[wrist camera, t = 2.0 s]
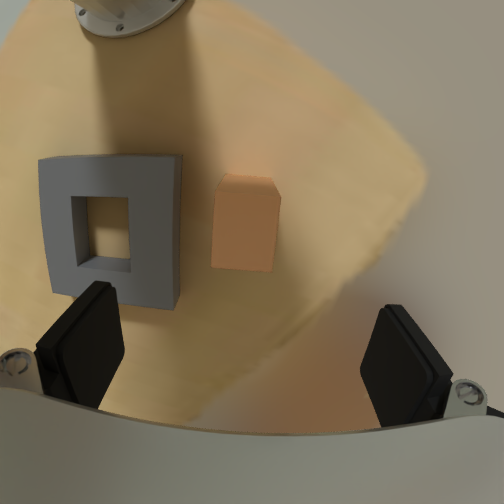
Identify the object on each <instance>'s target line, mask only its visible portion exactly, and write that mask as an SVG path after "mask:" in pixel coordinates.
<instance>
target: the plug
mask: <svg viewBox="0 0 504 504" xmlns="http://www.w3.org/2000/svg"><path fill="white" fill-rule="evenodd" d="M280 203H281V196H280V194H279V192H278V190H277V188H276V186H275V184H274V183H273V181H272V179H271V178H267V177H256V176H245V175H232V174H226V175H225V176H224V178H223V179H222V181H221V183H220V184H219V186H218V187H217V189H216V190H215V198H214V215H213V233H212V254H211V268H223V269H235V270H248V271H260V272H272V269H273V261H274V253H275V245H276V237H277V228H278V220H279V212H280Z"/></svg>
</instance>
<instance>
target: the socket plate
mask: <svg viewBox="0 0 504 504" xmlns="http://www.w3.org/2000/svg"><path fill="white" fill-rule="evenodd" d="M182 156H183V155H166V154H101V155H74V156H57V157H50V158H45V159H40V160H38V173H39V195H40V209H41V220H42V229H43V238H44V245H45V252H46V259H47V265H48V271H49V276H50V281H51V286H52V291H53V293H57V294H62V295H68V296H74V297H79V296H80V295H81V294H82V293H83V292H84V291H85V290H86V289H87V288H88V287H89V286H90V285H91V284H92V283H93V282H94V281H95V280H97V281H105V282H110V283H111V284H112V287H115V288H116V292H117V300H118V303H119V304H126V305H134V306H142V307H149V308H158V309H166V310H174V308H175V306H176V303H177V301H178V298H179V296H180V277H179V244H180V199H181V175H182ZM86 196H94V197H125V198H128V217H129V244H130V259H121V258H111V257H101V256H92V255H90V247H89V236H88V222H87V205H86Z"/></svg>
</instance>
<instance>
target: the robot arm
mask: <svg viewBox="0 0 504 504" xmlns="http://www.w3.org/2000/svg"><path fill="white" fill-rule="evenodd" d="M70 1H72V2H74V3H75V13H76V17H77V19H78V21H79V22H80V24H81V25H82V26H83V27H84V28H85V29H86V30H88V31H89V32H91V33H93V34H95V35H98V36H102V37H108V38H119V37H127V36H131V35H135V34H138V33H141V32H143V31H146V30H148V29H150V28H152V27H154V26H156V25H158V24H159V23H161V22H162V21H164V20H165V19H167V18H168V17H169V16H171V15H172V14H173V13H174V12H175V11H176V10H177V9H178V8H179V7H180V6H181V5H182V4H183V3H184V1H185V0H176V1H174V0H70ZM173 1H174V2H173ZM123 28H124V29H123ZM122 29H123V30H122ZM121 30H122V31H121ZM36 347H37V349H36V350H35V351H34V353H33V352H32V351H30V350H28V349H25V348H15V349H11V350H8V351H7V352H5V353H3V354H2V355H1V356H0V504H504V413H503V412H501V411H498V410H496V409H494V408H491V407H489V406H487V394H486V392H485V390H484V389H483V388H482V387H481V386H480V385H479V384H477V383H476V382H474V381H471V380H467V379H459V380H456V381H455V382H454V383H452V382H451V380H450V379H451V377H452V376H453V372H452V371H451V369H450V368H449V367H448V365H447V364H446V362H445V361H444V360H443V358H442V357H441V356H440V354H439V353H438V351H437V350H436V349H435V347H434V346H433V345H432V343H431V342H430V341H429V340H428V338H427V337H426V335H425V334H424V333H423V332H422V331H421V329H420V328H419V327H418V325H417V324H416V323H415V321H414V320H413V319H412V317H411V316H410V315H409V314H408V312H407V311H406V310H405V309H404V307H403V306H402V305H394V304H387V305H385V307H384V308H381V309H380V311H379V314H378V317H377V320H376V323H375V326H374V329H373V332H372V335H371V339H370V341H369V344H368V347H367V350H366V352H365V355H364V358H363V361H362V363H361V366H360V373H361V377H362V379H363V382H364V384H365V386H366V389H367V391H368V394H369V396H370V399H371V401H372V404H373V406H374V409H375V412H376V414H377V417H378V419H379V422H380V425H381V427H382V428H374V429H364V430H354V431H341V432H323V433H253V432H236V431H235V432H234V431H222V430H212V429H203V428H194V427H186V426H179V425H172V424H166V423H160V422H154V421H148V420H143V419H138V418H133V417H128V416H124V415H119V414H115V413H111V412H106V411H102V410H98V407H99V405H100V403H101V401H102V399H103V397H104V395H105V393H106V391H107V389H108V387H109V385H110V383H111V381H112V379H113V377H114V375H115V373H116V371H117V369H118V367H119V365H120V363H121V361H122V359H123V357H124V352H125V348H124V341H123V335H122V329H121V322H120V315H119V308H118V300H117V292H116V288H115V287H112V284H111V283H110V282H105V281H97V280H95V281H94V282H93V283H92V284H91V285H90V286H89V287H88V288H87V289H86V290H85V291H84V292H83V293H82V294H81V295H80V296H79V297H78V298H77V299H76V300H75V301H74V302H73V303H72V304H71V306H70V307H69V308H68V309H67V310H66V311H65V312H64V313H63V314H62V315H61V316H60V317H59V319H58V320H57V321H56V322H55V323H54V324H53V325H52V326H51V327H50V329H49V330H48V331H47V332H46V333H45V334H44V335H43V337H42V338H41V339H40V340H39V341H38V342H37V343H36Z"/></svg>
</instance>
